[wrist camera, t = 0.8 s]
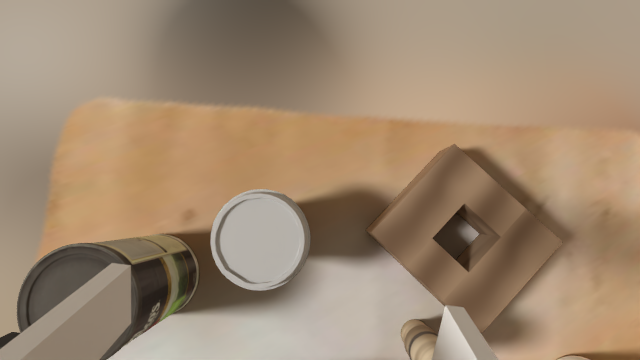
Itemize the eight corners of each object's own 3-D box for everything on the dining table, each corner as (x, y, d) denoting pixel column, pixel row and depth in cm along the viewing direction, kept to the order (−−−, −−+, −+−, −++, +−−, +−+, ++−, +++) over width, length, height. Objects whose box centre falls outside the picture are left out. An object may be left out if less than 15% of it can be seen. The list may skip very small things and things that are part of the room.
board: (534, 238, 42) (562, 242, 37) (460, 321, 41) (479, 336, 36) (439, 151, 43) (454, 143, 38) (365, 230, 42) (371, 232, 37)
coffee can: (216, 279, 42) (161, 314, 27) (151, 333, 41) (61, 397, 27) (167, 216, 42) (90, 218, 28) (103, 268, 42) (-9, 296, 28)
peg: (438, 333, 41) (486, 384, 29) (415, 358, 40) (454, 420, 28) (413, 309, 41) (450, 349, 29) (391, 334, 41) (419, 385, 29)
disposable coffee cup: (226, 216, 42) (188, 219, 30) (291, 181, 43) (279, 170, 31) (260, 283, 41) (235, 313, 29) (327, 247, 42) (328, 261, 30)
